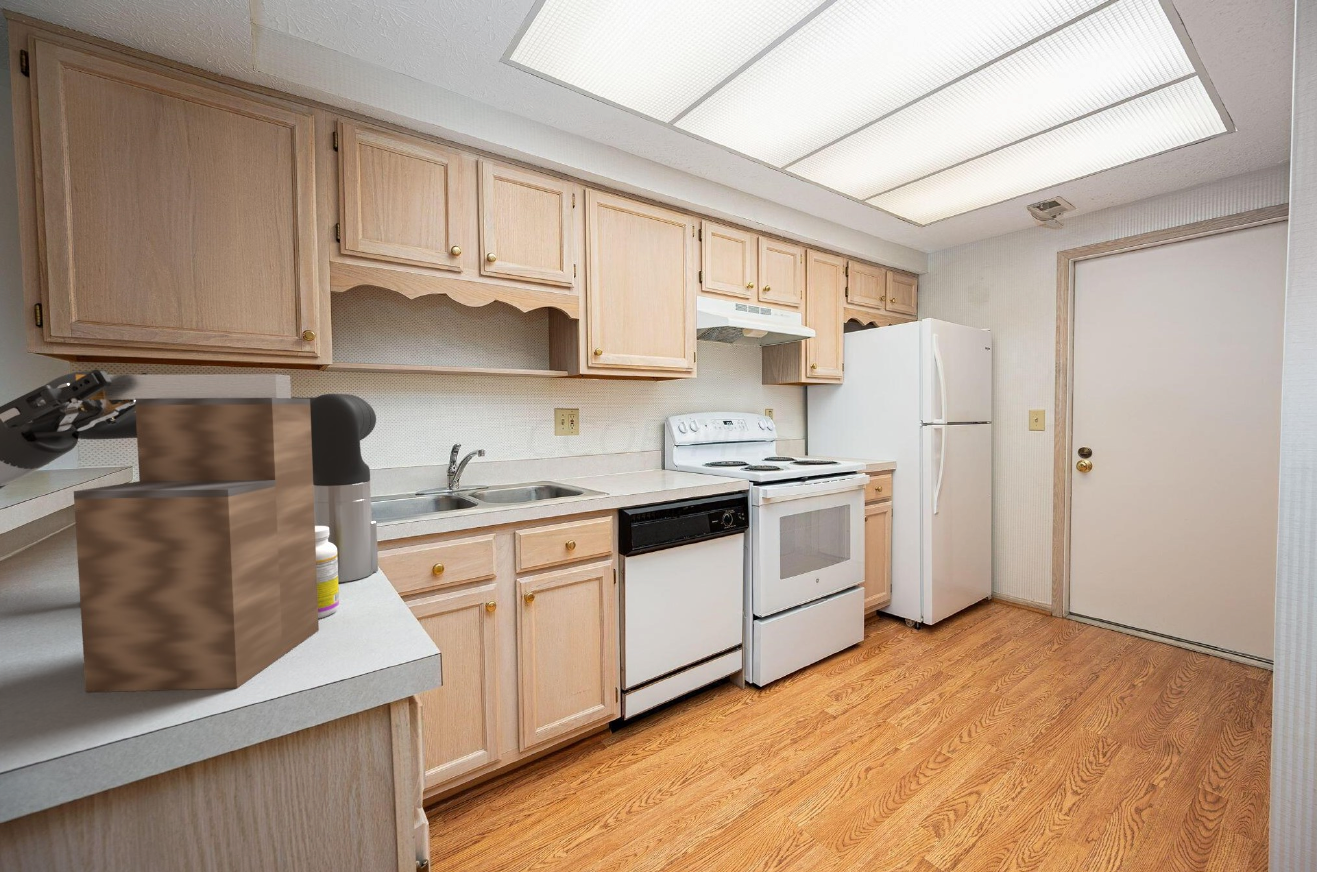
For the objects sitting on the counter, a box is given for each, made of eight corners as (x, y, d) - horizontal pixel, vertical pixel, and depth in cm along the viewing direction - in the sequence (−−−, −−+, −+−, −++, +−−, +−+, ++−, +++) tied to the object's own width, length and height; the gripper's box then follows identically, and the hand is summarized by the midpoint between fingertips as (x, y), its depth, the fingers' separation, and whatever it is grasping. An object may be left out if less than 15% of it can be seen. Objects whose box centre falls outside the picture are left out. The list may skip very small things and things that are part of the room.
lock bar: (77, 399, 70) (75, 374, 69) (100, 399, 73) (99, 376, 73) (276, 398, 71) (275, 374, 70) (291, 398, 74) (290, 375, 74)
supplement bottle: (277, 617, 83) (274, 531, 82) (322, 603, 89) (319, 522, 88) (304, 625, 80) (301, 535, 79) (349, 610, 86) (346, 526, 85)
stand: (85, 692, 61) (67, 397, 60) (199, 633, 77) (187, 399, 76) (237, 688, 62) (223, 396, 60) (318, 630, 78) (309, 398, 76)
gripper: (-75, 420, 64) (54, 345, 64) (56, 417, 78) (161, 356, 78) (-36, 477, 64) (92, 402, 64) (86, 464, 78) (191, 403, 79)
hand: (129, 377), depth 71 cm, fingers open, 6 cm apart
